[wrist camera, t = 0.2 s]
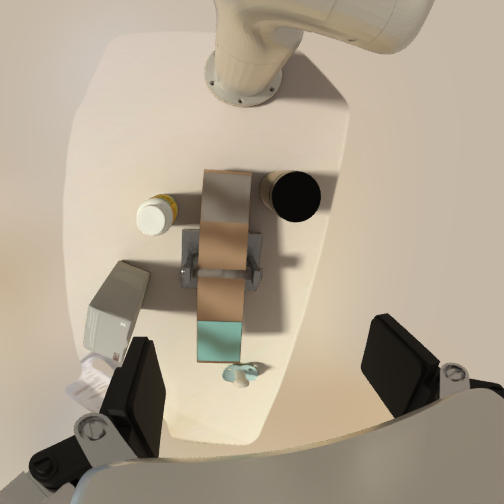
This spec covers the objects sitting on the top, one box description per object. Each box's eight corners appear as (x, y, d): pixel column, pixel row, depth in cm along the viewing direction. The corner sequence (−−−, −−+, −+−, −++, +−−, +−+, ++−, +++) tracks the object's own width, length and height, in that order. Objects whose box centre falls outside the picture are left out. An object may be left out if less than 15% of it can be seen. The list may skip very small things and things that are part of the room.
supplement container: (249, 190, 44) (260, 197, 34) (278, 161, 43) (297, 160, 33) (277, 218, 46) (295, 232, 36) (305, 190, 45) (330, 197, 35)
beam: (199, 171, 40) (198, 168, 38) (255, 175, 41) (257, 173, 39) (192, 357, 43) (192, 362, 41) (243, 358, 44) (244, 363, 42)
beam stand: (183, 228, 44) (177, 241, 37) (261, 233, 46) (270, 246, 39) (182, 285, 47) (177, 306, 39) (255, 287, 49) (263, 309, 42)
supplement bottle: (145, 223, 43) (128, 237, 34) (150, 191, 42) (133, 197, 33) (176, 228, 44) (166, 244, 35) (181, 196, 43) (173, 204, 34)
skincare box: (119, 258, 44) (83, 298, 29) (155, 273, 46) (133, 320, 31) (109, 298, 46) (77, 347, 31) (143, 312, 48) (122, 366, 33)
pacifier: (254, 380, 56) (257, 360, 54) (258, 400, 50) (261, 381, 48) (221, 380, 55) (222, 361, 53) (223, 401, 49) (223, 382, 47)
